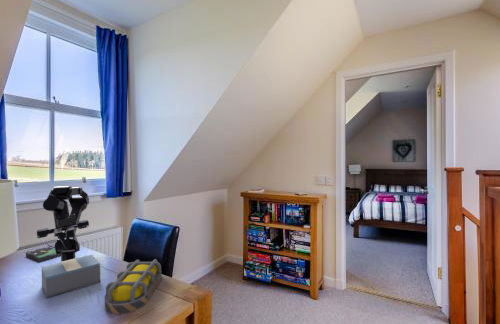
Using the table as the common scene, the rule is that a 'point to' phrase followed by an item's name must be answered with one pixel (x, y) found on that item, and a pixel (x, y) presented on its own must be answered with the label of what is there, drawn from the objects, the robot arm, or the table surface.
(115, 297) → the cage light
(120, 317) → the table surface
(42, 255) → the disk drive
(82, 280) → the storage box
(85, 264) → the lid
